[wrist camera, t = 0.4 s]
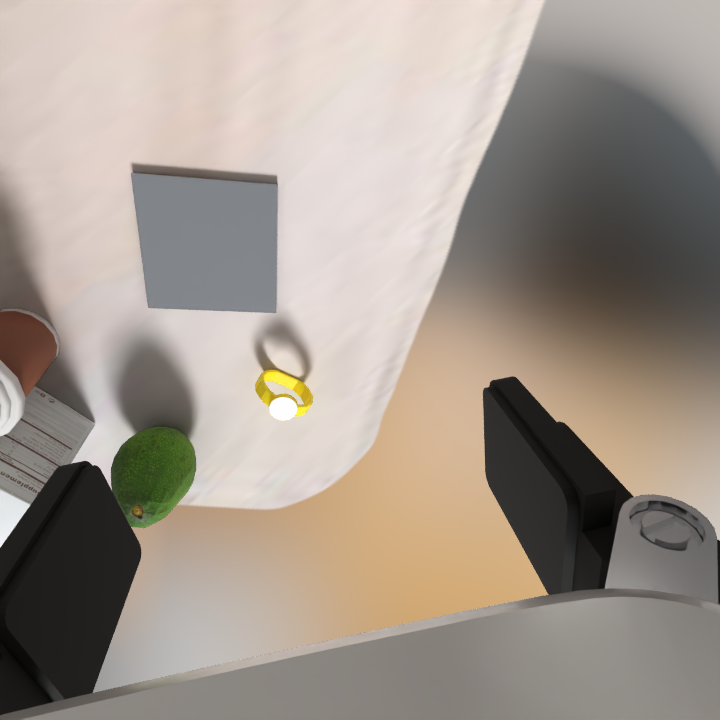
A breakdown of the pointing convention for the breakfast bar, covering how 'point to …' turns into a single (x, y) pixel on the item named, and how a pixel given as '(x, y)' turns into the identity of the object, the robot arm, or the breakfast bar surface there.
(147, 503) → the avocado
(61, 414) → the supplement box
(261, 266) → the slate coaster
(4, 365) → the coffee cup
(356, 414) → the breakfast bar surface
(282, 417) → the watch
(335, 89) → the breakfast bar surface
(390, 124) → the breakfast bar surface
